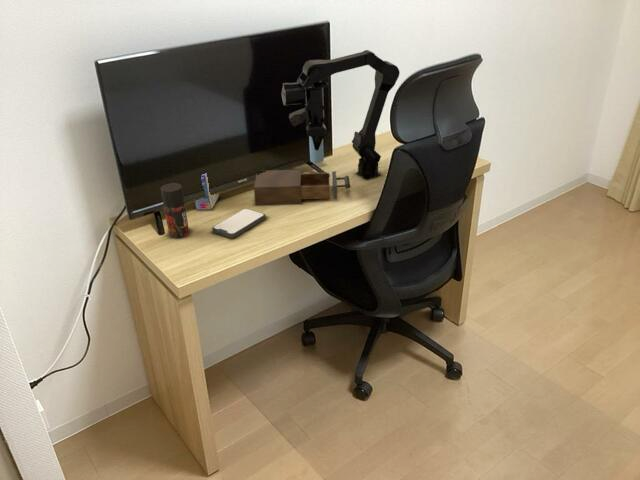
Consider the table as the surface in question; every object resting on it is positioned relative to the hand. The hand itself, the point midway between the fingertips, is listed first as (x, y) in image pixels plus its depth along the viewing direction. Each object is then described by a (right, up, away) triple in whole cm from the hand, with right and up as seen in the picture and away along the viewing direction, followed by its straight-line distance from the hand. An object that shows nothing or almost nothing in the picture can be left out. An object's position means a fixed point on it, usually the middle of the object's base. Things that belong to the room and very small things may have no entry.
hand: (316, 147), depth 194 cm
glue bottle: (0, -4, +2) cm, 5 cm away
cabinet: (-12, -16, -2) cm, 21 cm away
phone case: (-23, -27, -19) cm, 40 cm away
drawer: (+2, -15, -2) cm, 15 cm away
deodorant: (-41, -29, -22) cm, 55 cm away
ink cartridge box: (-36, -19, -5) cm, 41 cm away
